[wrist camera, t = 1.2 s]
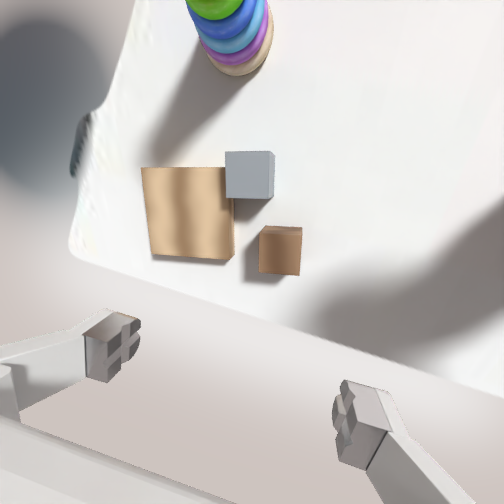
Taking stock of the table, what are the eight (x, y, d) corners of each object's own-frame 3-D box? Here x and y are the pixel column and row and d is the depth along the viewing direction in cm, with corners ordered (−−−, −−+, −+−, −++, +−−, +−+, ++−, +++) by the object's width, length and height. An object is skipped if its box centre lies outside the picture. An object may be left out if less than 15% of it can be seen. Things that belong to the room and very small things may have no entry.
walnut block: (302, 227, 31) (302, 235, 27) (299, 262, 33) (299, 275, 28) (265, 225, 32) (259, 233, 28) (264, 259, 34) (258, 272, 29)
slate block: (275, 155, 29) (269, 150, 25) (273, 196, 31) (268, 198, 26) (237, 156, 30) (225, 151, 26) (237, 195, 32) (226, 197, 27)
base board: (233, 168, 31) (227, 167, 28) (234, 254, 34) (229, 259, 32) (152, 168, 33) (140, 167, 31) (161, 249, 37) (151, 253, 34)
